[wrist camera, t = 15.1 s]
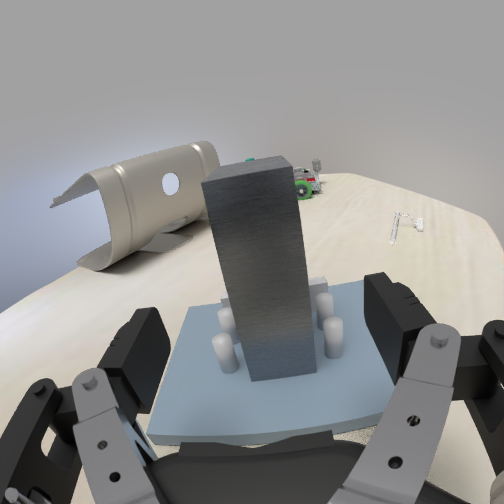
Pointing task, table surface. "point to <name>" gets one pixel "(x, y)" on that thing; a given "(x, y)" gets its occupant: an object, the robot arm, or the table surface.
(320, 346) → the pin tray
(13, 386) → the table surface
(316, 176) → the robot kit
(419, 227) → the picture light
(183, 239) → the curved metal cover
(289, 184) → the dark grey rectangular block
